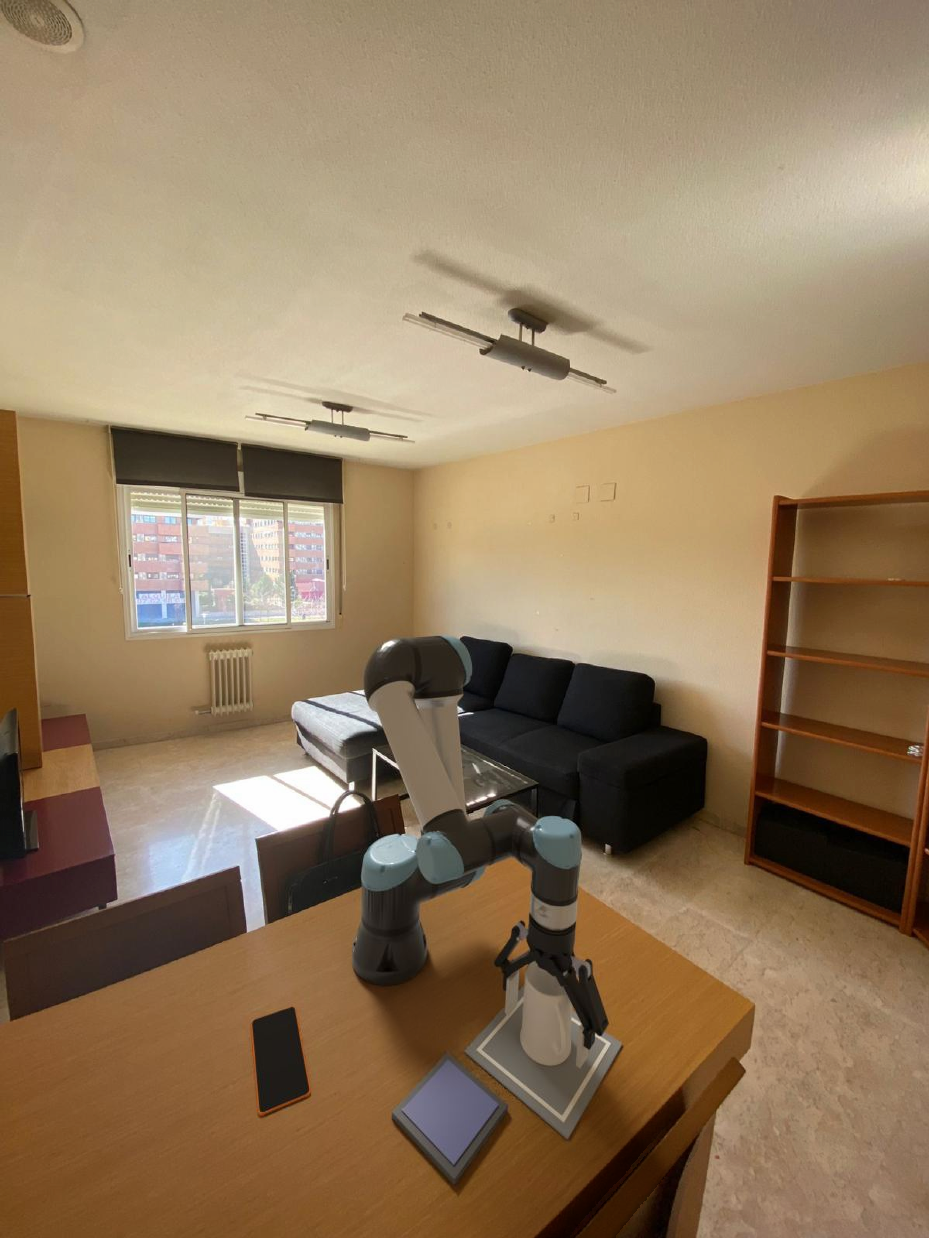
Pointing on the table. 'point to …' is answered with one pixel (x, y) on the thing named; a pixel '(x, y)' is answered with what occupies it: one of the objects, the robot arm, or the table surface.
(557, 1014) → the mug
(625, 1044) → the table surface
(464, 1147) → the ink pad
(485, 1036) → the print mat
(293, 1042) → the smartphone
